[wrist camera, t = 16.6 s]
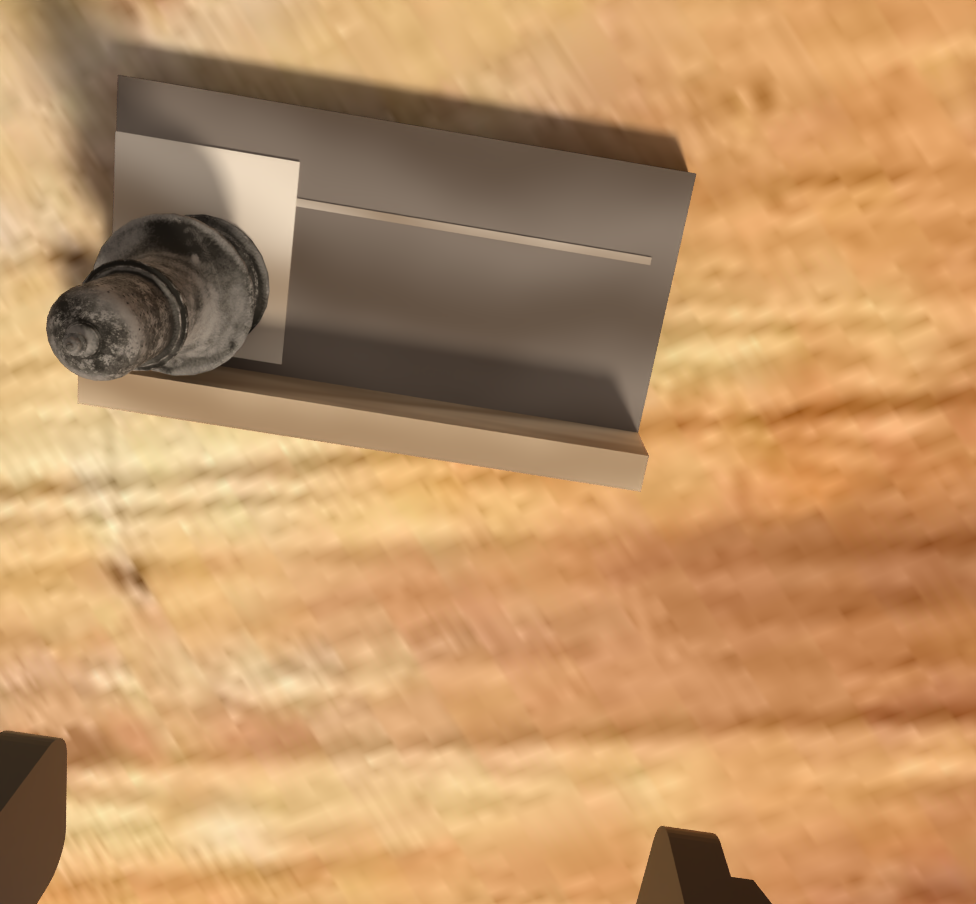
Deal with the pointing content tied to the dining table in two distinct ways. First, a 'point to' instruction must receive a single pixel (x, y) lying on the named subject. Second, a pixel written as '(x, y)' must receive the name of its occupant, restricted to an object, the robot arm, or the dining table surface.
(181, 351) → the dark stone finial
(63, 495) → the dining table surface
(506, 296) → the board
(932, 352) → the dining table surface
